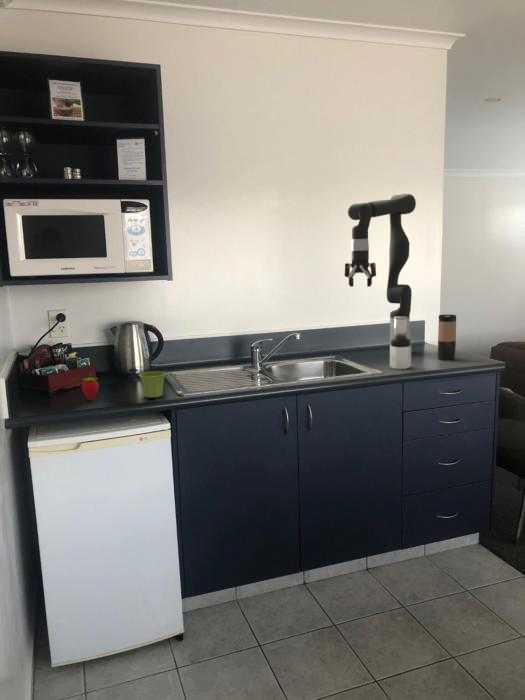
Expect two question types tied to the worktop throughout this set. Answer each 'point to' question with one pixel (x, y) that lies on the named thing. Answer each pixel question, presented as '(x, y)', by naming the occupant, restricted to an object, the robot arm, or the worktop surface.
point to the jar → (400, 354)
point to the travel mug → (446, 337)
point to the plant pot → (152, 383)
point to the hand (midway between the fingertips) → (360, 286)
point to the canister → (400, 328)
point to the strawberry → (90, 387)
